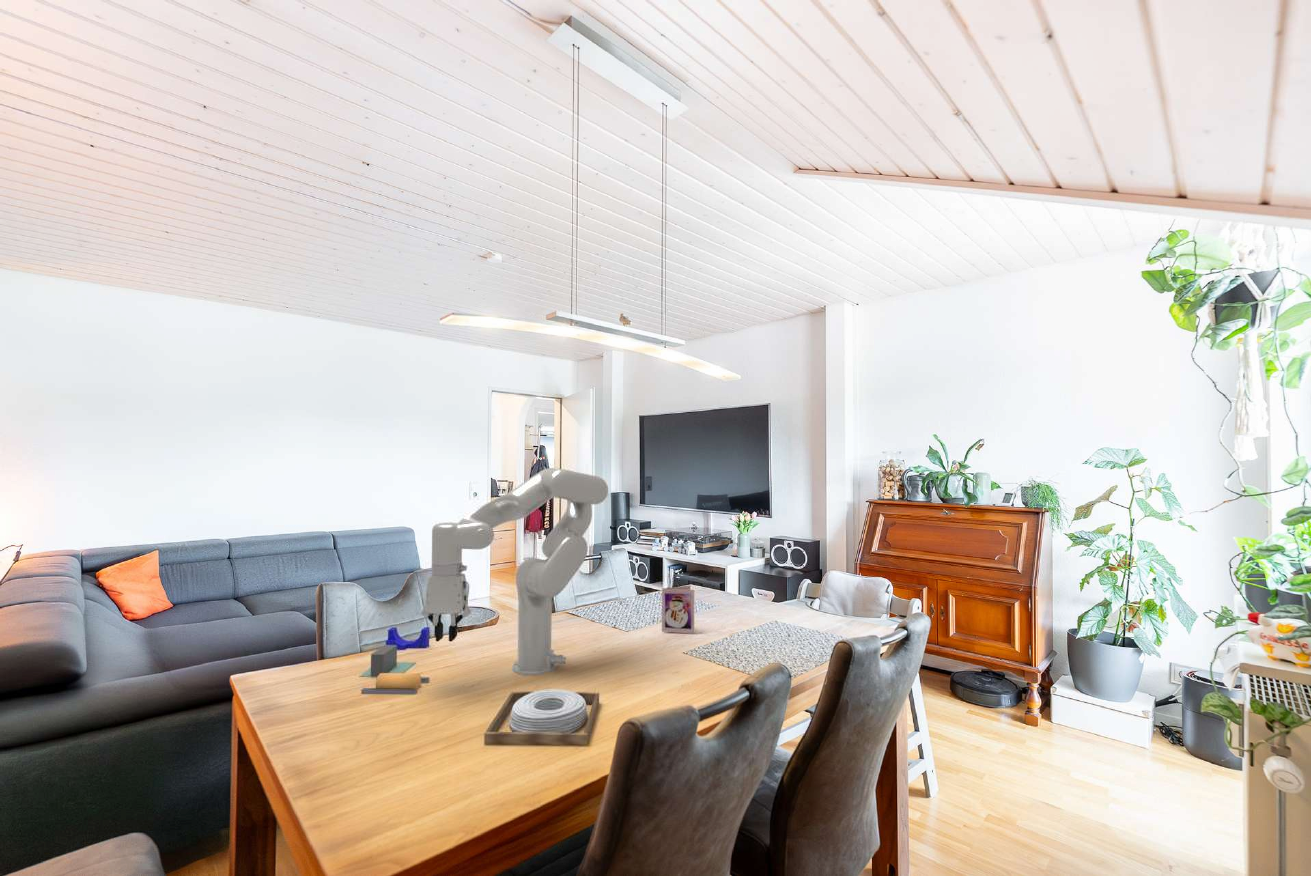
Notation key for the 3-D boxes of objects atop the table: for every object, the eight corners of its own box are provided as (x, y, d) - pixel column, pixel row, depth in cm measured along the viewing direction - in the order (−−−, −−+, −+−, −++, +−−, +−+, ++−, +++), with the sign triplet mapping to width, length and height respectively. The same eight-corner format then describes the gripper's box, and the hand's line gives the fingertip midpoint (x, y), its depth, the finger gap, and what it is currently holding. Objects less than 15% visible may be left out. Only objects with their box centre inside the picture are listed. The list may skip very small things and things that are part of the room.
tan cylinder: (422, 682, 155) (419, 669, 153) (415, 696, 151) (412, 683, 149) (385, 682, 155) (382, 669, 153) (377, 695, 151) (374, 682, 149)
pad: (415, 663, 172) (415, 662, 172) (398, 678, 161) (398, 676, 161) (378, 663, 172) (378, 661, 172) (359, 677, 161) (359, 676, 161)
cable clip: (385, 650, 183) (386, 631, 184) (391, 645, 188) (392, 627, 188) (424, 650, 184) (424, 631, 184) (429, 645, 188) (429, 627, 188)
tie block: (396, 665, 169) (397, 645, 169) (383, 676, 161) (383, 654, 161) (384, 665, 169) (385, 644, 169) (370, 676, 161) (371, 654, 161)
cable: (549, 754, 120) (550, 725, 121) (491, 732, 130) (492, 705, 130) (601, 722, 135) (601, 695, 135) (546, 704, 145) (546, 679, 145)
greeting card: (661, 632, 203) (661, 589, 203) (664, 626, 210) (664, 584, 210) (694, 634, 201) (694, 590, 201) (696, 627, 208) (696, 585, 209)
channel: (429, 682, 157) (429, 677, 157) (415, 696, 148) (415, 690, 148) (378, 682, 158) (378, 676, 158) (361, 695, 149) (361, 689, 149)
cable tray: (599, 706, 143) (599, 692, 143) (586, 751, 121) (586, 734, 121) (511, 705, 143) (512, 691, 143) (484, 750, 122) (484, 733, 122)
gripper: (481, 567, 157) (480, 635, 157) (422, 566, 158) (421, 635, 157) (472, 573, 150) (471, 644, 149) (410, 572, 150) (409, 644, 150)
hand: (445, 639), depth 153 cm, fingers closed
